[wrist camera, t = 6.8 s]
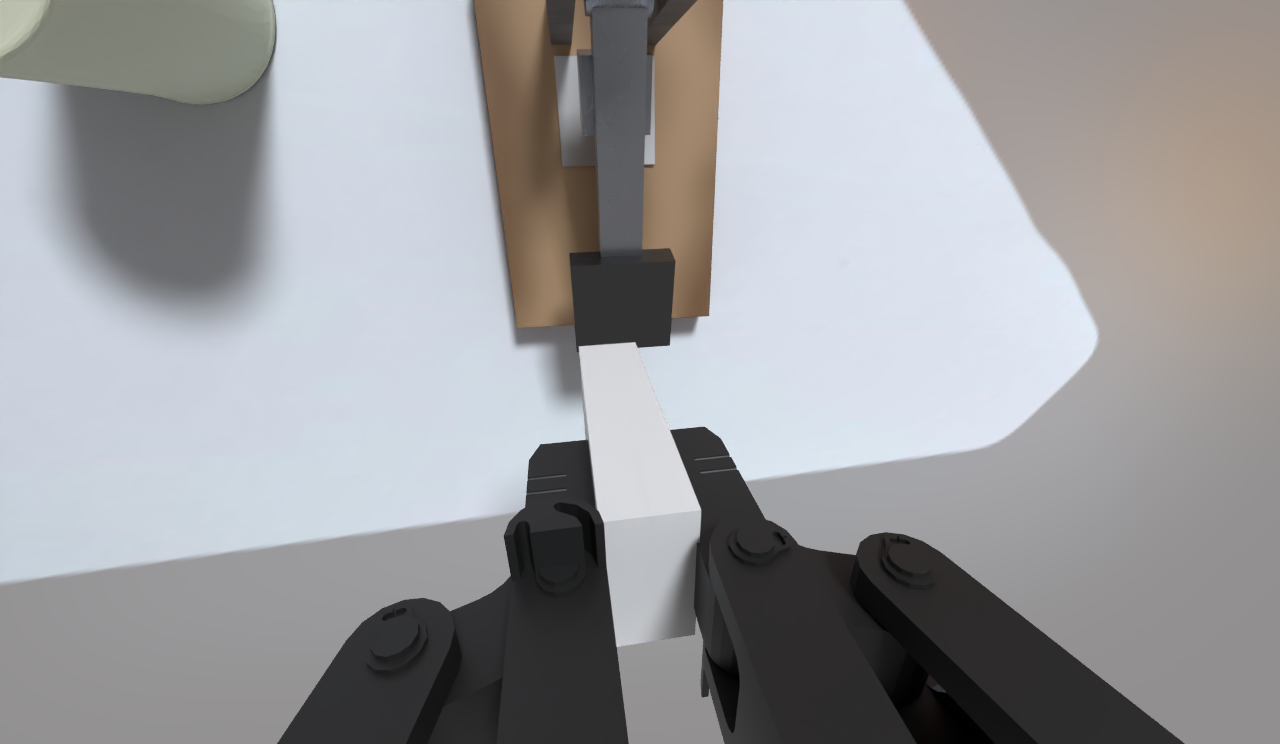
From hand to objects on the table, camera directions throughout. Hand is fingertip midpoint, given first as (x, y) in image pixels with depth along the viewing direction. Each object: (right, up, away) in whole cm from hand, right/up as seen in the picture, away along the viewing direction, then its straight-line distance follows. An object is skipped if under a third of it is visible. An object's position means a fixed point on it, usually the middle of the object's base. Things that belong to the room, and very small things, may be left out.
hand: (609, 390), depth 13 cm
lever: (0, +11, +11) cm, 15 cm away
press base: (-1, +13, +15) cm, 20 cm away
